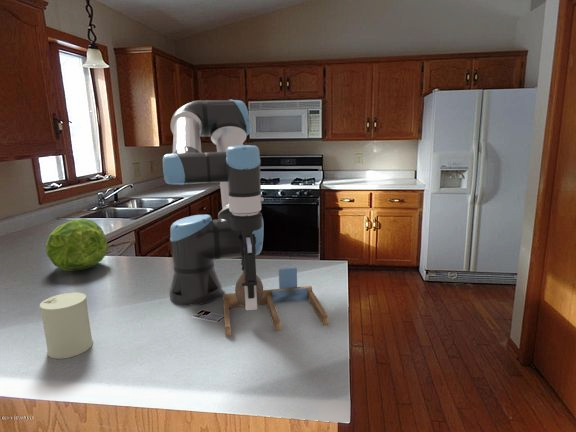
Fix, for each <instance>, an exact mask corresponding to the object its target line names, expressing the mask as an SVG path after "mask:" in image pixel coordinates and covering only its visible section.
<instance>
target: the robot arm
mask: <svg viewBox="0 0 576 432" xmlns="http://www.w3.org/2000/svg"><path fill="white" fill-rule="evenodd" d="M248 111H249V110H248V107H247V106H246V103H245V102H244V101H242V100H238V99H235V100H234V99H227V100H223V99H222V100H221V99H220V100H217V99H216V100H215V99H214V100H210V99H209V100H208V99H207V100H203V99H202V100H201V99H200V100H193V101H191V102H190V101H189V102H188V103H186V104H184V105H182V106H180V107H179V108H177V110H176V111H174V113H173V114H172V117H171V120H170V131H171V133H172V135H173V140H172V142H173V143H172V153H166V154H164V155H163V156H162V170H163V171H162V172H163V178H164V179H163V180H164V182H165V183H166V184H168V185H180V186H183V185H193V184H211V183H219V187H220V195H221V196H220V197H221V206H222V207H221V208H222V209H221V210H220V211H219V212H218V215H217V219H212V218H213V217H212V216H211V215H210V214H195V215H190V216H186V217H183V218H180V219H177V220H176V221H174V222H172V224H171V225H170V238H169V241H170V242H171V253H172V265H173V266H172V268H173V275H172V279H171V282H170V287H169V290H168V291H169V299H170V301H171V302H172V303H174V304H177V305H183V306H194V305H195V306H196V305H202V304H207V303H210V302H213V301H215V300H217V299H218V298H220V297H221V295H223V285H222V282H221V280H220V278H219V275H218V274H217V270H216V268H215V260H227V259H236V258H241V259H240V261H241V263H240V265H241V271H242V272H241V274H242V273H243V270H244V273H245V283H242V286H245V306H244V307H245V311H253V310H258V304H257V293H256V285H257V280H256V275H257V267H256V266H257V263H256V256H258V255H260V253H261V252H262V249H263V244H264V243H263V242H264V232H265V231H264V218H263V213H262V212H261V210H262V202H264V200H265V199H264V197H263V196H262V194H261V193H262V189H261V157H260V149H259V147H258V146H257V145H251V144H243V143H244V142H245V141H246V140H247V136H248V135H250V134H251V133H250V132H251V122H250V115H249V112H248ZM201 137H208V138H209V137H210V141H211V142H212V143H213V144H214V145H216V151H207V152H206V151H205V152H203V151H202V144H201V143H202V142H201Z"/></svg>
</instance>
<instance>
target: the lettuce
mask: <svg viewBox="0 0 576 432" xmlns="http://www.w3.org/2000/svg"><path fill="white" fill-rule="evenodd" d="M108 246H109V244H108V241H107V237H106V234H105V233H104V230H103V228H102V227H100V225H99V224H97V223H96V222H95V221H94V220H90V219H87V218H86V219H85V218H79V219H74V220H70V221H67V222H65V223H63V224H60V225H59V226H57V227H56V228H55V229H54V230H53V231H52V232H51V233H50V234H49V235H48V237H47V240H46V243H45V251H46V256H47V257H48V259H49V260H50V262H52V264H53V265H54V266H55V267H57V268H59V269H60V270H63V271H66V272H70V271H71V272H77V271H82V270H85V269H89V268H92V267H94V266H95V265H97V264H99V263H100V262H102V261H103V259H104V258H105V257H106V256H107V253H108Z"/></svg>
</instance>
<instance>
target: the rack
mask: <svg viewBox="0 0 576 432" xmlns="http://www.w3.org/2000/svg"><path fill="white" fill-rule="evenodd" d="M222 298H223V299H222V300H223V315H224V332H225V337H231V336H232V333H231V332H232V331H231V320H230V309H229V308H235V307H244V306H243V305H242V304H241V303H240V302H239V301H238V300H237V297H236V294H235V292H232V293H224V294H223V293H222ZM303 301H308V302H309V304H311V306H312V309H313V311H314V312H315V313H316V315H317V317H318V319H319V321H320V323H321V325H322V326H328V325H329V317H328V316H329V315H328V313H327V312H326V311H325V309H324V307H323V306H322V304H321V302H320V300H319V299H318V298H317V295H316V294H315V293H314V291H313V286H312V285H307V286H305V285H304V286H297V287H293V288H282V289H279V288H273V289H263V296H262V299H261V301H260V302H259V303H258V304H257V305H266V306H267V309H268V311H269V315H270V317H271V321H272V325H273V329H274V331H275V332H279V331H281V319H280V316H279V314H278V310H277V308H276V305H275V304H282V303H292V302H303Z"/></svg>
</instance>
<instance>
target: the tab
mask: <svg viewBox="0 0 576 432" xmlns="http://www.w3.org/2000/svg"><path fill="white" fill-rule="evenodd" d="M297 269H298V268H297V266H291V267H289V266H288V267H279V268H278V287H279V288H278V289H282V288H293V287H298V272H297V271H298V270H297Z"/></svg>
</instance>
